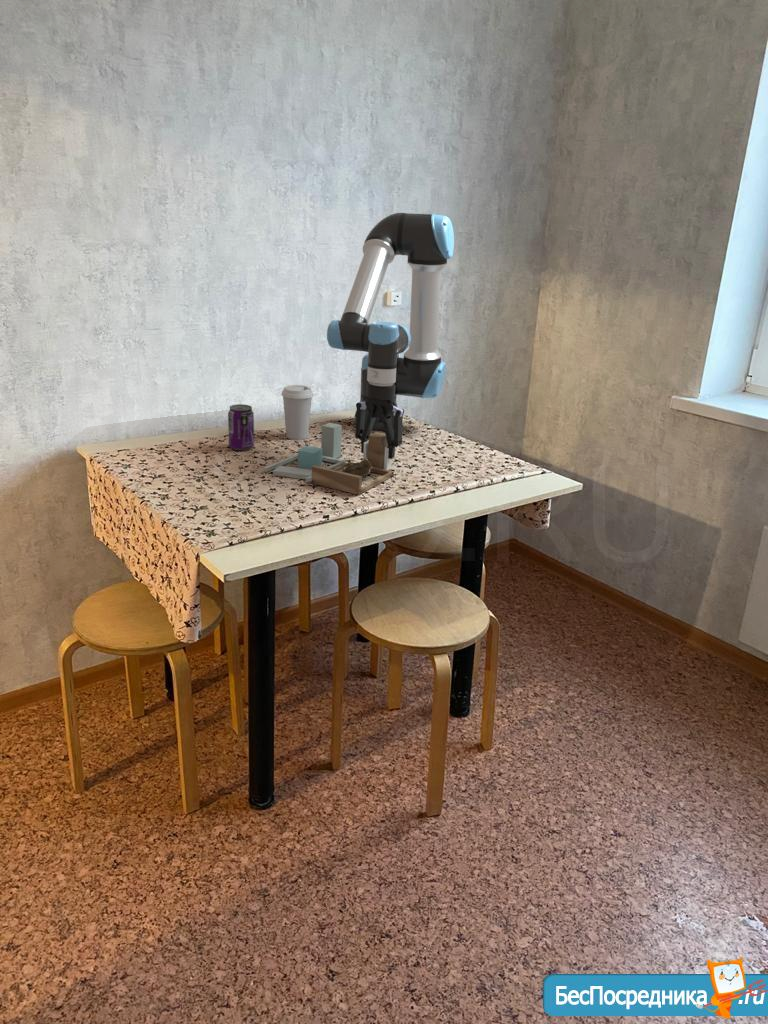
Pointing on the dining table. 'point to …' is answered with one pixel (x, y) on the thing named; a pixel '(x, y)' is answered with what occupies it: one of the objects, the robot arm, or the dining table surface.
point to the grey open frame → (328, 445)
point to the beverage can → (241, 427)
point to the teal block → (309, 457)
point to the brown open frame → (354, 482)
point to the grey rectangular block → (292, 472)
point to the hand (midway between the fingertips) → (376, 466)
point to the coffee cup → (297, 410)
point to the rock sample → (358, 468)
